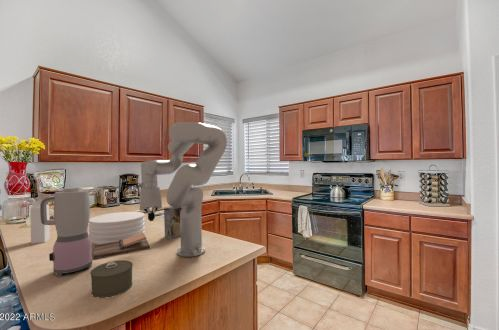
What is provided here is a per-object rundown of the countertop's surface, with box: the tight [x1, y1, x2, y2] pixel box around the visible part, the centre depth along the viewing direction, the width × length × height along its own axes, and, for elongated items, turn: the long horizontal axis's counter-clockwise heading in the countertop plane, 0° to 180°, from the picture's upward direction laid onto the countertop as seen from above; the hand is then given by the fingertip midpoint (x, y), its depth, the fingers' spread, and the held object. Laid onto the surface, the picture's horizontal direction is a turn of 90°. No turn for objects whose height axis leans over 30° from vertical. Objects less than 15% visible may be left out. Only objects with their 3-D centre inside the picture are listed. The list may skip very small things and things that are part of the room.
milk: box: [29, 200, 51, 245], centre depth 128 cm, size 6×6×22 cm
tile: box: [120, 232, 147, 247], centre depth 118 cm, size 10×11×1 cm
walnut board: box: [92, 238, 151, 260], centre depth 115 cm, size 16×23×3 cm
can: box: [90, 259, 134, 299], centre depth 78 cm, size 12×12×7 cm
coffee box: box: [163, 206, 183, 239], centre depth 136 cm, size 9×6×16 cm
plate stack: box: [88, 211, 146, 245], centre depth 136 cm, size 28×28×12 cm
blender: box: [40, 186, 93, 277], centre depth 92 cm, size 16×12×32 cm
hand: (151, 220), depth 122 cm, fingers closed
